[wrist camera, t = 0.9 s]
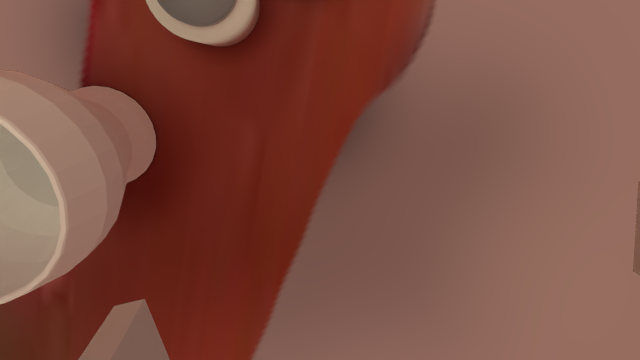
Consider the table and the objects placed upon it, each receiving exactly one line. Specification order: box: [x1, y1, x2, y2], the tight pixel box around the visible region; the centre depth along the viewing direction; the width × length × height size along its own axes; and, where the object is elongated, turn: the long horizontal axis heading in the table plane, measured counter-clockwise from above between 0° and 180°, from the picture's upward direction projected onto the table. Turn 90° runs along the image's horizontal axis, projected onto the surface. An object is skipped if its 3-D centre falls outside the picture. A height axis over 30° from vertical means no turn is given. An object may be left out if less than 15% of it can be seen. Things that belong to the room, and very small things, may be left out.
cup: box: [0, 70, 156, 304], centre depth 22 cm, size 11×11×15 cm
